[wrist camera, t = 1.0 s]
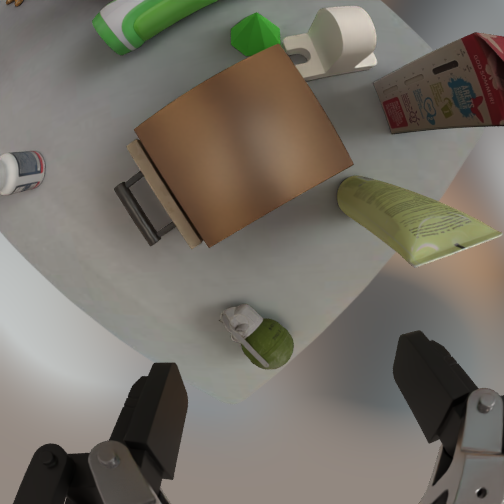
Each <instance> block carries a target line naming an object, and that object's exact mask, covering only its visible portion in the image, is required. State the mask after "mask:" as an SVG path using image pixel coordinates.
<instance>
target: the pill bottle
mask: <svg viewBox="0 0 504 504" xmlns="http://www.w3.org/2000/svg"><path fill="white" fill-rule="evenodd" d="M44 173H45V163H44V159H43V157H42V156H41V154H40V153H38V152H36V151H26V152H14V153H6V154H3V155H1V156H0V194H2V195H10V194H14V193H18V192H22V191H26V190H29V189H33V188H36V187H37V186H39V185H40V183H41V182H42V180H43V177H44Z"/></svg>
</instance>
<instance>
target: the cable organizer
mask: <svg viewBox="0 0 504 504" xmlns="http://www.w3.org/2000/svg"><path fill="white" fill-rule="evenodd" d="M281 47H282V48H283V50H284V51H285V52H286V54H287V55H288V56H289V55H293V54H301V55H303V56H305V57H306V59H307V62H306V63H303V64H298V65H295V66H296V68H297V69H298V71H299V72H300V74H301V75H302V77H303V78H304V80H305V81H309V80H314V79H318V78H323V77H328V76H333V75H339V74H345V73H351V72H357V71H364V70H369V69H371V68H372V67H374V66H375V65H376V64H377V60H376V57H375V55H374V53H372V52H373V51H374V50H375V47H376V31H375V28H374V25H373V22H372V20H371V18H370V16H369V15H368V13H367V12H366V11H365V10H364V9H362V8H361V7H359V6H343V7H330V8H322V9H320V10H319V11H318V13H317V15H316V17H315V19H314V21H313V23H312V25H311V27H310V29H309V31H308V33H306V34H300V35H295V36H290V37H286V38H284V40H283V43H282V46H281Z"/></svg>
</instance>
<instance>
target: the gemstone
mask: <svg viewBox="0 0 504 504" xmlns="http://www.w3.org/2000/svg"><path fill="white" fill-rule="evenodd" d="M276 44H280V29H279V28H278V27H277V26H276V25H274V24H273V23H271V22H270V21H269V20H267V19H266V18H265V17H263V16H262V15H260V14H258V13H254V14H252V15H250V16H248V17H246V18H244V19H243V20H242V21H240V22H239V23H238V24H236V25H235V26H234V27H233V28H231V45H232V46H233V47H235V48H236V49H237V50H239V51H240V52H241V53H242V54H244V55H245V56H252V55H254V54H256V53H258V52H261V51H263V50H265V49H267V48H269V47H271V46H274V45H276Z"/></svg>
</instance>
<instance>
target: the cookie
mask: <svg viewBox="0 0 504 504" xmlns="http://www.w3.org/2000/svg"><path fill="white" fill-rule="evenodd" d="M13 1H14V0H7V1H6V4H10V3H11V2H13ZM22 2H23V0H15V6H19V5H20V4H21V3H22Z"/></svg>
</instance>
